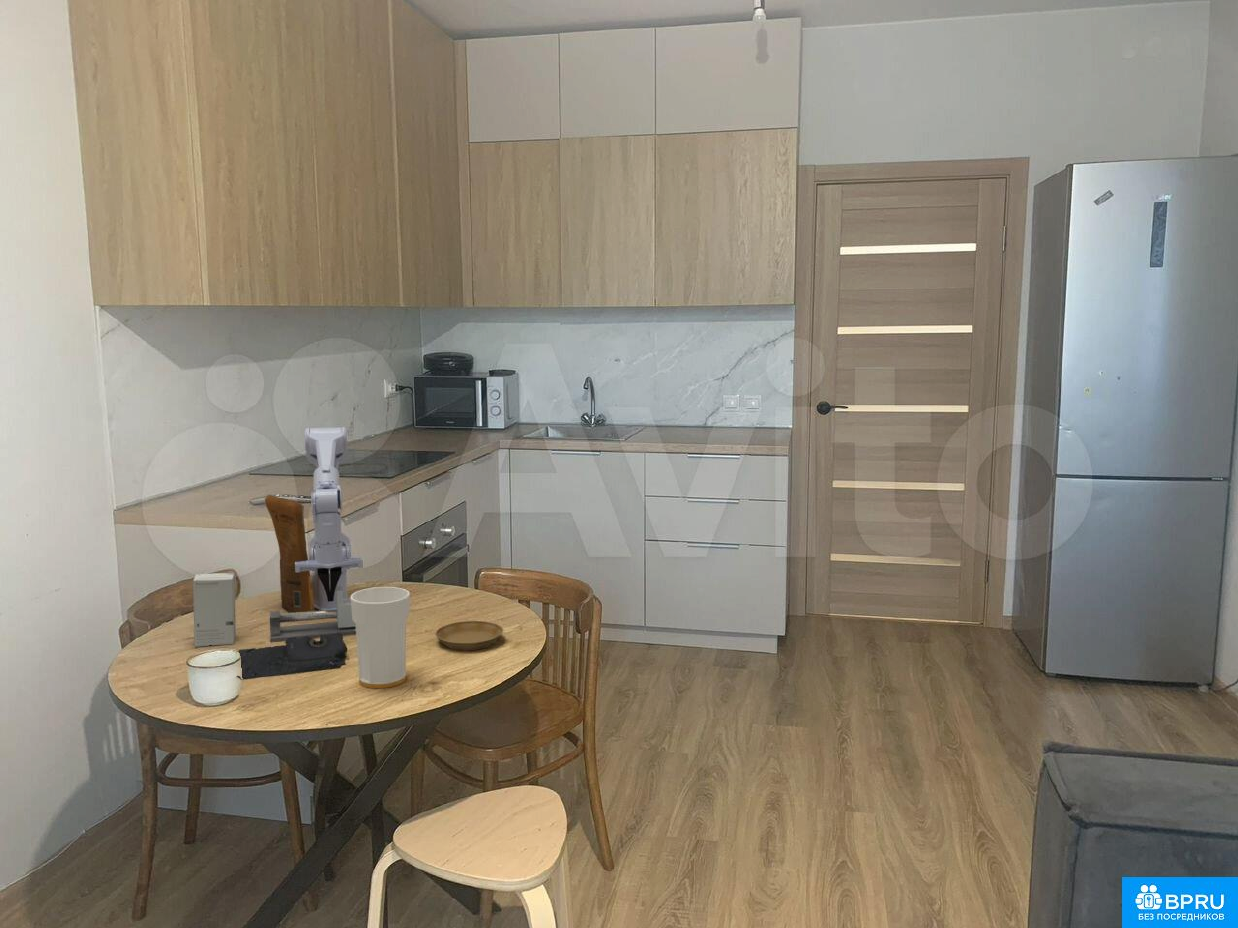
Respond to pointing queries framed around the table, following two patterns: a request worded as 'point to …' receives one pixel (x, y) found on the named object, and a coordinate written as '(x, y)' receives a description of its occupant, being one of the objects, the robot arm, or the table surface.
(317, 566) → the robot arm
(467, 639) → the plant saucer
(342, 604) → the sleeve
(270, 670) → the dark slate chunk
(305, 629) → the board
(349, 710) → the table surface
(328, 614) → the pipe
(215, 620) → the skincare box
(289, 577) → the pancake mix bag
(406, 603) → the cup
